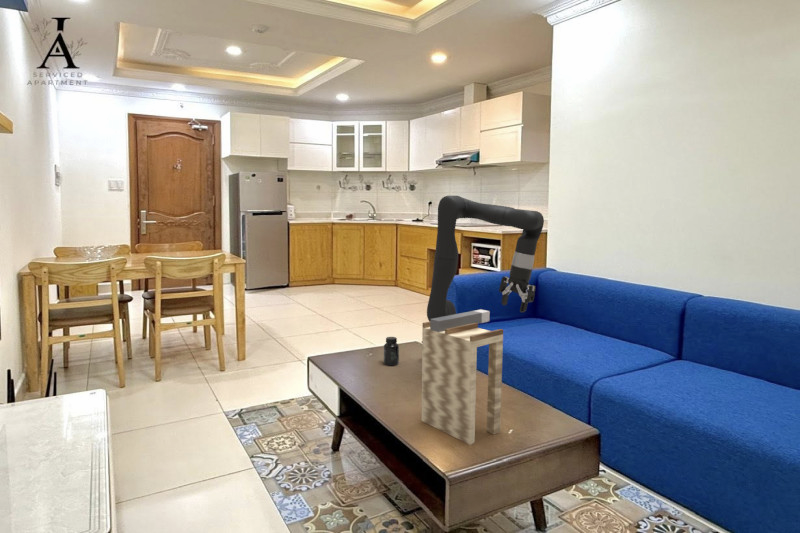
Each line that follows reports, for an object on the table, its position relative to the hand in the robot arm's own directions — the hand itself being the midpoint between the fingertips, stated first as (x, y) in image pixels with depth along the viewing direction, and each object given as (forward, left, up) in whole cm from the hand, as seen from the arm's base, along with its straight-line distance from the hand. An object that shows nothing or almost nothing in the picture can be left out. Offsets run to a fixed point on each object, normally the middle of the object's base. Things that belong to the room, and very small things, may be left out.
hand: (513, 308), depth 191 cm
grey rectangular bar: (0, -28, -2) cm, 28 cm away
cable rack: (+6, -33, -34) cm, 48 cm away
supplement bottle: (-59, -10, -34) cm, 69 cm away
